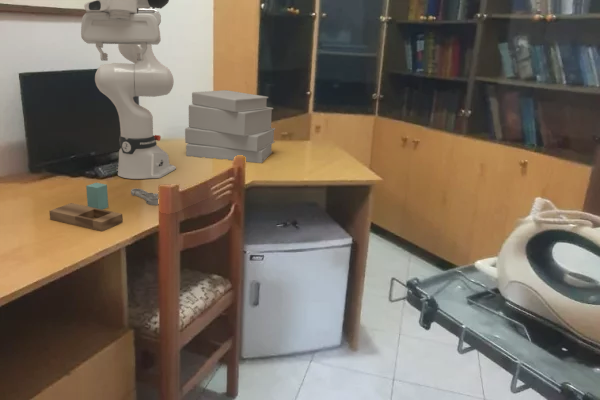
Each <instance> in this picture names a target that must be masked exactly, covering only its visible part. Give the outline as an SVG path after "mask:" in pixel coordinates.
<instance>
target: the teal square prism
mask: <svg viewBox="0 0 600 400" xmlns="http://www.w3.org/2000/svg"><path fill="white" fill-rule="evenodd" d="M85 187H86V199H87V200H86V201H87V202H86V203H87V206H88V207H93V208H97V209H102V210H106V209H107V208H109V199H108V198H109V197H108V184H106V183H105V184H104V183H101V182H94V183H91V184H87V185H86V186H85Z"/></svg>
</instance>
